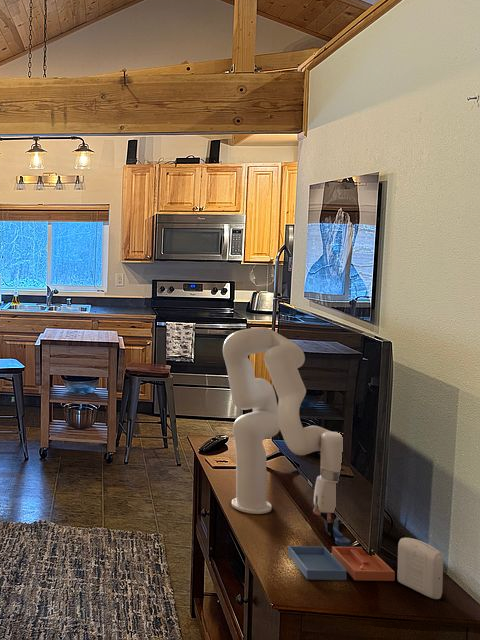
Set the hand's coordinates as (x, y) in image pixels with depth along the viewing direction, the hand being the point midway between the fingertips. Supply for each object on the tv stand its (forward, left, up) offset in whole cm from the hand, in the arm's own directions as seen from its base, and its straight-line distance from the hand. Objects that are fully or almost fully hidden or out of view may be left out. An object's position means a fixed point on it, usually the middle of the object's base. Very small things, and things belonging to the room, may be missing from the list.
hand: (333, 533), depth 195 cm
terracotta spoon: (+20, -1, 0) cm, 20 cm away
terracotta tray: (+20, -1, -1) cm, 20 cm away
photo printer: (+31, +8, -1) cm, 32 cm away
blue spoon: (+3, 0, 0) cm, 3 cm away
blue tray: (+20, -13, -1) cm, 23 cm away
